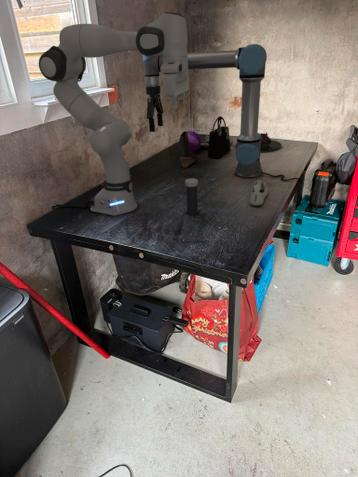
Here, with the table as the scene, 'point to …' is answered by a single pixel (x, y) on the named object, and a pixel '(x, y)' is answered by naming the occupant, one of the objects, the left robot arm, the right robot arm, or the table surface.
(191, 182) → the lid
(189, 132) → the decorative orb
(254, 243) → the table surface
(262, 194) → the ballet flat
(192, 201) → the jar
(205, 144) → the pair of gloves
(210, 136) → the handbag
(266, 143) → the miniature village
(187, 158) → the boot
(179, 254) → the table surface
